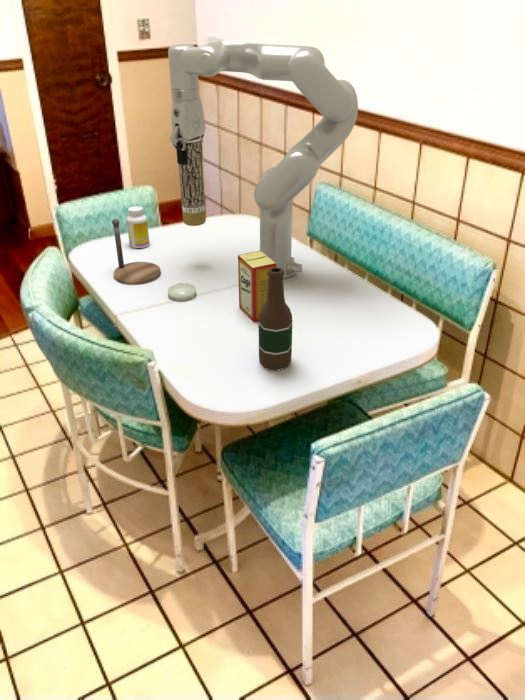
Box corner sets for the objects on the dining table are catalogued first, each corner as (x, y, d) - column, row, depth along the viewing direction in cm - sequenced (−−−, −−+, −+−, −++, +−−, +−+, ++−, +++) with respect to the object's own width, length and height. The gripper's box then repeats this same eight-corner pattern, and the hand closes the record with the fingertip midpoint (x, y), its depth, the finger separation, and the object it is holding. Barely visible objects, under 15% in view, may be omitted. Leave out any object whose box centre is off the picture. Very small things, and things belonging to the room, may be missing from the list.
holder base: (169, 270, 197) (165, 218, 188) (141, 288, 186) (135, 234, 177) (133, 262, 202) (127, 211, 194) (104, 278, 192) (96, 225, 183)
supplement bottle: (153, 244, 215) (150, 207, 208) (140, 250, 210) (136, 213, 204) (138, 240, 218) (134, 203, 211) (125, 246, 213) (120, 209, 207)
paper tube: (180, 221, 194) (173, 136, 181) (201, 217, 196) (195, 134, 183) (187, 228, 189) (180, 141, 176) (209, 224, 191) (204, 139, 178)
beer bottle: (290, 353, 155) (292, 262, 143) (292, 370, 148) (295, 277, 136) (258, 353, 155) (257, 262, 142) (259, 371, 148) (258, 277, 136)
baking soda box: (275, 317, 171) (276, 262, 162) (253, 322, 168) (252, 266, 160) (260, 302, 178) (260, 249, 170) (239, 307, 176) (237, 253, 167)
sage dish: (201, 292, 184) (201, 286, 183) (185, 303, 178) (185, 297, 177) (178, 286, 187) (178, 281, 186) (162, 297, 181) (162, 291, 180)
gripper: (178, 101, 165) (183, 170, 175) (214, 90, 178) (217, 155, 188) (155, 99, 168) (161, 166, 178) (191, 88, 181) (196, 152, 191)
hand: (190, 160), depth 183 cm, fingers closed on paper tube, 6 cm apart
